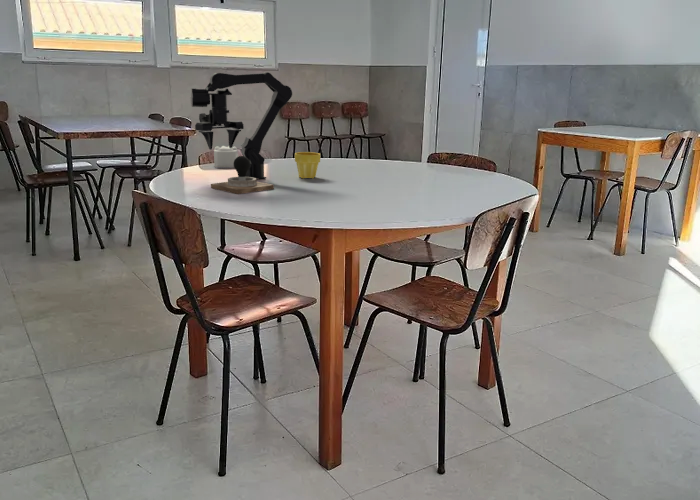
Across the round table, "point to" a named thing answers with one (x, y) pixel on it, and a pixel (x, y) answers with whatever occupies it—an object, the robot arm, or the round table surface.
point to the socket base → (241, 189)
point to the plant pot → (307, 164)
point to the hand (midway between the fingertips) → (220, 148)
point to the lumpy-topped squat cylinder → (225, 157)
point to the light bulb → (241, 167)
